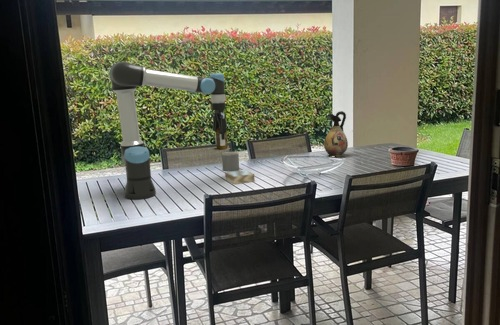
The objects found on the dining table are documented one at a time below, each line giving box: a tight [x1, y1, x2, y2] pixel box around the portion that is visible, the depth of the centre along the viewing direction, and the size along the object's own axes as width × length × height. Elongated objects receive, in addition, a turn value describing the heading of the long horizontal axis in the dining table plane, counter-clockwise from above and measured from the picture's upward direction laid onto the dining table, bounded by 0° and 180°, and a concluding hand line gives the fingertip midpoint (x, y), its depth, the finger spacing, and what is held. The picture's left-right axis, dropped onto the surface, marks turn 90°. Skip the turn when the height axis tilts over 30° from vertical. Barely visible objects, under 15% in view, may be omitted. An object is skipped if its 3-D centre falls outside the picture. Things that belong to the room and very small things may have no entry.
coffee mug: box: [221, 151, 240, 172], centre depth 274 cm, size 13×10×10 cm
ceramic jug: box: [323, 110, 349, 158], centre depth 299 cm, size 17×15×30 cm
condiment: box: [210, 127, 231, 151], centre depth 248 cm, size 7×8×12 cm
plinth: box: [224, 169, 255, 185], centre depth 246 cm, size 12×12×4 cm
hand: (220, 144), depth 248 cm, fingers closed on condiment, 6 cm apart
